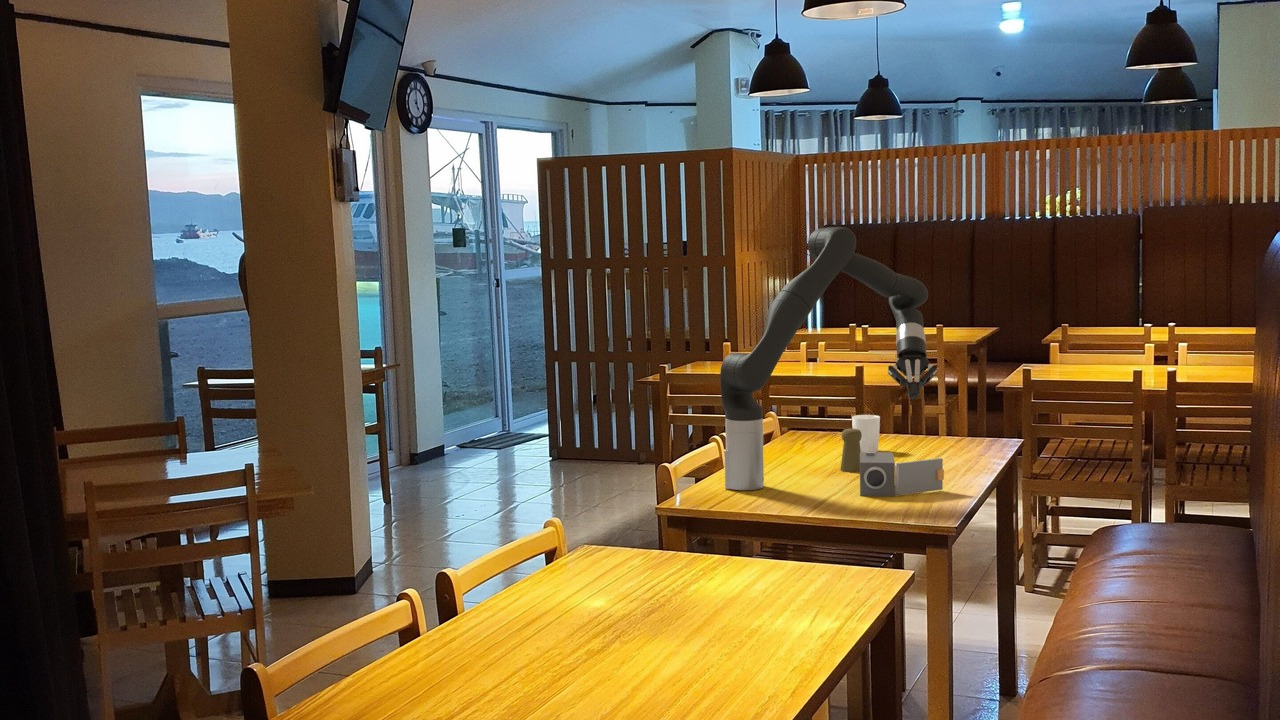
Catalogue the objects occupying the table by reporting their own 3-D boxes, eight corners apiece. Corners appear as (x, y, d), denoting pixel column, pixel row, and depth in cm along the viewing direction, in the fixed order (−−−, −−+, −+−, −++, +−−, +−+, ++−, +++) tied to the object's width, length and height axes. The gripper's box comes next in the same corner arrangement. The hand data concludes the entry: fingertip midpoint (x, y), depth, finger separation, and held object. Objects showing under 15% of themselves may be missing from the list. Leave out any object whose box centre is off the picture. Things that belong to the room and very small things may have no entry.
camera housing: (860, 496, 280) (860, 460, 279) (859, 483, 295) (859, 449, 294) (894, 497, 278) (894, 461, 278) (892, 484, 293) (892, 450, 292)
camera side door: (894, 494, 279) (894, 463, 279) (940, 488, 285) (940, 458, 284) (898, 496, 278) (898, 464, 277) (944, 490, 283) (944, 459, 283)
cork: (856, 473, 308) (856, 431, 307) (836, 471, 312) (835, 429, 311) (867, 469, 313) (867, 428, 312) (846, 467, 317) (846, 426, 316)
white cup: (850, 453, 338) (850, 418, 337) (853, 448, 345) (853, 414, 344) (878, 454, 335) (878, 419, 334) (881, 449, 343) (881, 415, 342)
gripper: (885, 335, 309) (887, 388, 298) (937, 334, 307) (941, 387, 296) (885, 353, 315) (887, 406, 304) (936, 352, 312) (940, 405, 302)
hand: (914, 397), depth 300 cm, fingers closed
